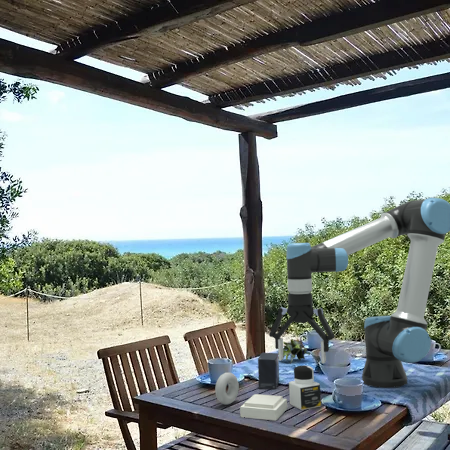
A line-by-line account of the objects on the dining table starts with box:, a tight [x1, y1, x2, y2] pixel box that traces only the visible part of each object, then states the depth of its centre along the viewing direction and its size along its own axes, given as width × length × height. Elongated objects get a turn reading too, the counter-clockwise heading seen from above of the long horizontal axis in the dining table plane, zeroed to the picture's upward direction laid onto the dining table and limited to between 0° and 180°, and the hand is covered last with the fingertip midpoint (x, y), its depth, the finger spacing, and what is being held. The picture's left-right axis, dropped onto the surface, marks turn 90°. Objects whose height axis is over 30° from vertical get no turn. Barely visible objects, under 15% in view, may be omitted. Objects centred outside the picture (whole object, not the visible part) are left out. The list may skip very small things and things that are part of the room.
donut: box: [214, 371, 240, 406], centre depth 174 cm, size 10×4×10 cm, turn 141°
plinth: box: [239, 393, 288, 421], centre depth 164 cm, size 11×11×4 cm
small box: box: [257, 352, 280, 390], centre depth 194 cm, size 11×6×10 cm, turn 168°
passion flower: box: [277, 338, 311, 365], centre depth 226 cm, size 11×11×12 cm
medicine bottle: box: [288, 365, 322, 411], centre depth 169 cm, size 7×7×12 cm
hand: (302, 361), depth 169 cm, fingers open, 13 cm apart
